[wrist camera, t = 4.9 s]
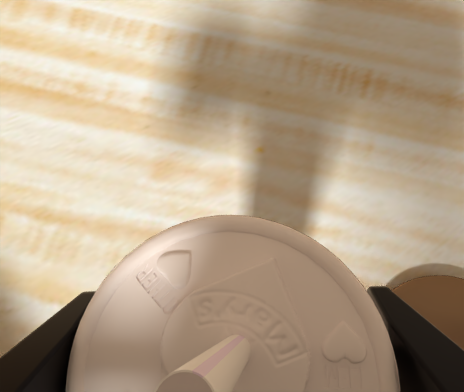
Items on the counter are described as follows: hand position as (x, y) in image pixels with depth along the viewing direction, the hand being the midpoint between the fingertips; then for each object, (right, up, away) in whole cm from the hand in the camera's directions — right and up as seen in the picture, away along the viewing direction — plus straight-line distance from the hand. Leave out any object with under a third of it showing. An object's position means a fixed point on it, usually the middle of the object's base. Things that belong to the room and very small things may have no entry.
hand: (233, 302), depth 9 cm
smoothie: (+1, -4, +7) cm, 8 cm away
